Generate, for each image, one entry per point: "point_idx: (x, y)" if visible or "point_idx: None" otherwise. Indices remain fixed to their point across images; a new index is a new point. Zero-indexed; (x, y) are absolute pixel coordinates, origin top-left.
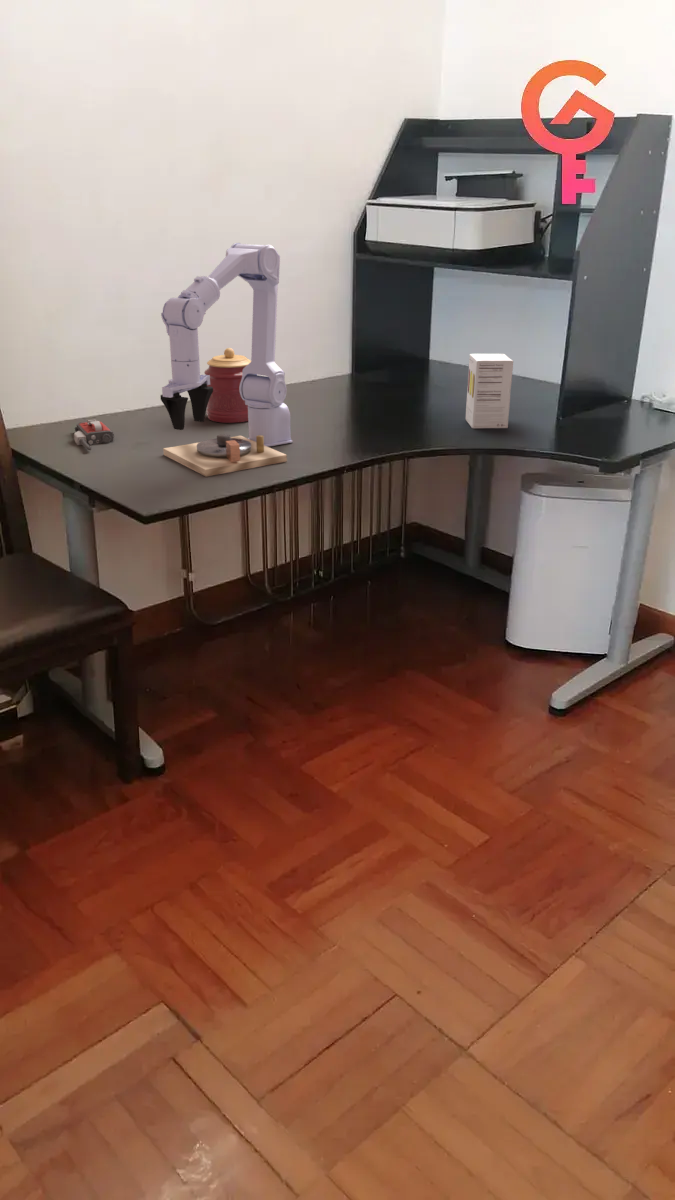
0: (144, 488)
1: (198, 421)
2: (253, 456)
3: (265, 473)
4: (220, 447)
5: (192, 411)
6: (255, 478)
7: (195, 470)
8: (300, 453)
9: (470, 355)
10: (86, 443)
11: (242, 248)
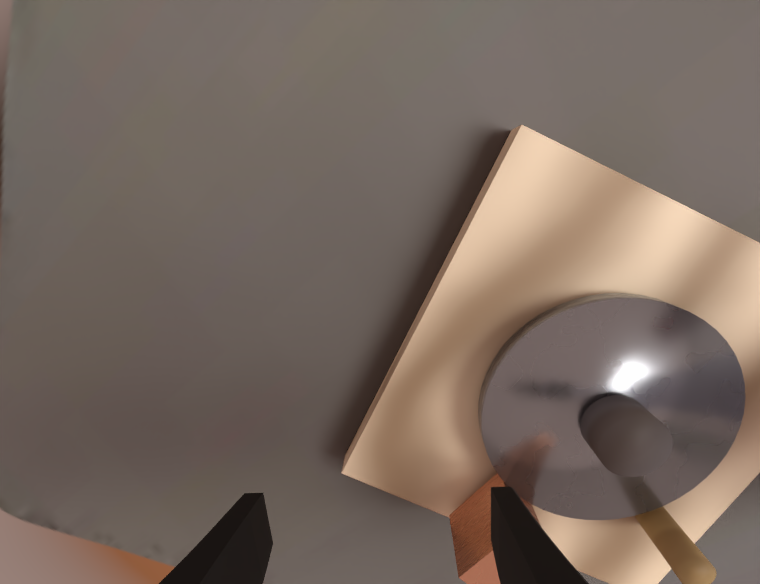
0: (126, 363)
1: (491, 513)
2: (574, 522)
3: None
4: (562, 429)
5: (514, 534)
6: (414, 576)
7: (376, 395)
8: (748, 566)
9: None
10: None
11: None
